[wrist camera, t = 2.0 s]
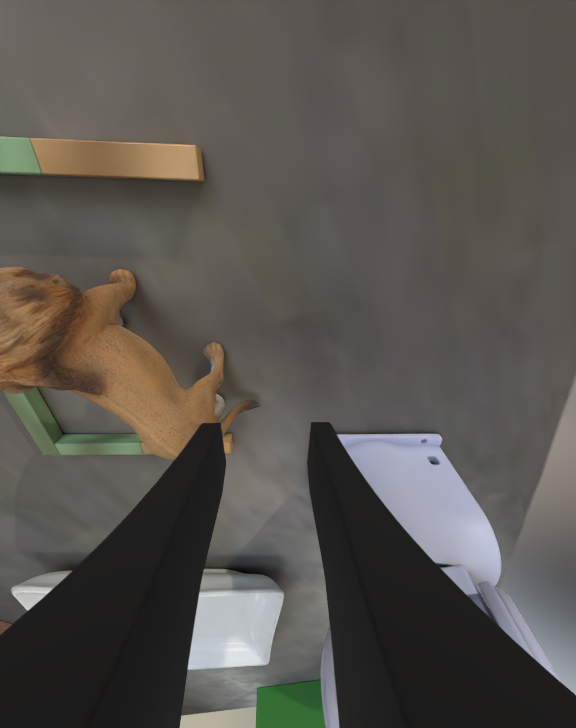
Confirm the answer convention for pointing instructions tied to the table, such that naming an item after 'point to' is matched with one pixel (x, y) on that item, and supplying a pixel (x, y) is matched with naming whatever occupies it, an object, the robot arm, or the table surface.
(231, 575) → the square plate
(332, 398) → the table surface
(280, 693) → the hardback book
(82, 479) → the table surface
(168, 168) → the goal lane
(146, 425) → the lion figurine
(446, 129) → the table surface
